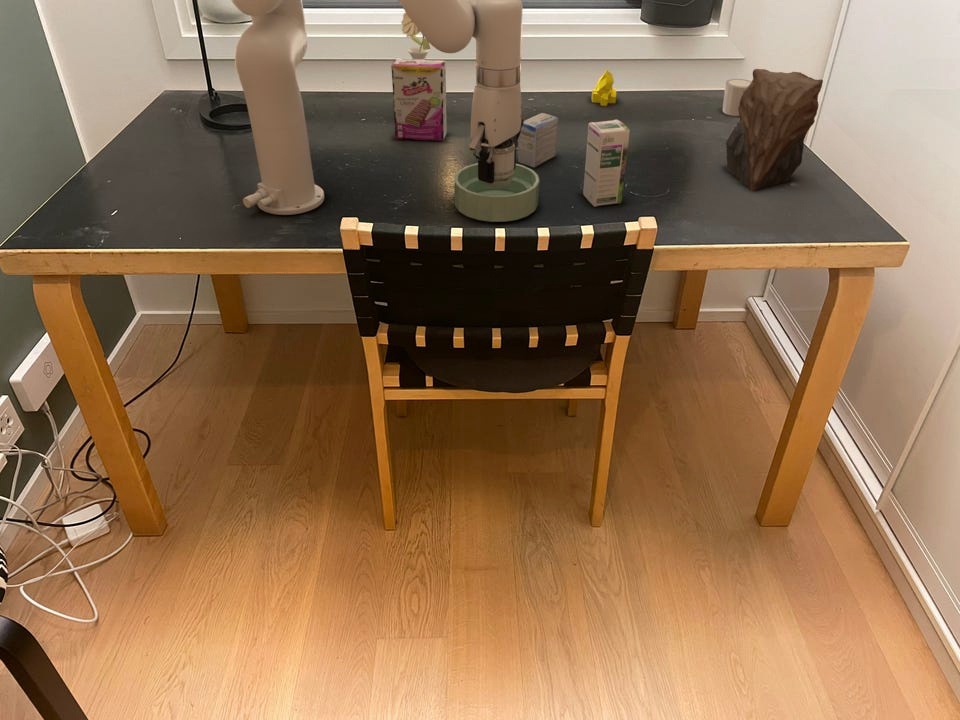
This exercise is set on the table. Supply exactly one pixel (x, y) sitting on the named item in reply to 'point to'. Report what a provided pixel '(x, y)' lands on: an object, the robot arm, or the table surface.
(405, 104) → the candy bar box
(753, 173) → the owl
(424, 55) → the flower in vase
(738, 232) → the table surface
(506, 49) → the robot arm
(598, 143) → the syrup box
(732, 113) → the white cylinder
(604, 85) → the yellow crystal cluster
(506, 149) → the camera lens
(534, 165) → the medicine box
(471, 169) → the bowl
